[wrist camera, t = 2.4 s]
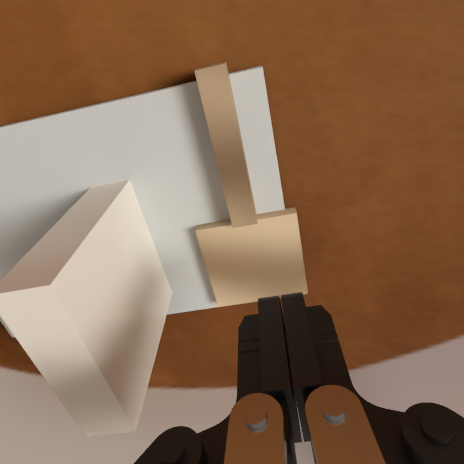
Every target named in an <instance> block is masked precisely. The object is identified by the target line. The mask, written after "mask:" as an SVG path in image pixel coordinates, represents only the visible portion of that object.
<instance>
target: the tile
mask: <svg viewBox="0 0 464 464" xmlns="http://www.w3.org/2000/svg"><path fill="white" fill-rule="evenodd" d="M171 296H172V291H171V288H170V286H169V283H168V280H167V278H166V275H165V272H164V270H163V267H162V264H161V262H160V259H159V257H158V254H157V251H156V249H155V246H154V243H153V241H152V238H151V235H150V233H149V230H148V227H147V225H146V222H145V220H144V217H143V214H142V212H141V209H140V206H139V204H138V201H137V198H136V196H135V193H134V190H133V188H132V185H131V183H130V180H126V181H121V182H116V183H111V184H106V185H101V186H96V187H91V188H90V189H89V190H88V191H87V192H86V193H85V194H84V195H83V196H82V197H81V198H80V199H79V200H78V201H77V202H76V203H75V204H74V205H73V206H72V207H71V208H70V209H69V210H68V211H67V212H66V213H65V215H64V216H63V217H62V218H61V219H60V220H59V221H58V222H57V223H56V224H55V225H54V226H53V227H52V228H51V229H50V230H49V231H48V232H47V233H46V234H45V235H44V236H43V237H42V238H41V239H40V240H39V241H38V242H37V243H36V245H35V246H34V247H33V248H32V249H31V250H30V251H29V252H28V253H27V254H26V255H25V256H24V257H23V258H22V259H21V260H20V261H19V262H18V263H17V264H16V265H15V266H14V267H13V268H12V269H11V270H10V271H9V272H8V273H7V274H6V276H5V277H4V278H3V279H2V280H1V281H0V316H1V318H2V319H3V320H4V322H5V323H6V325H7V326H8V328H9V329H10V330H11V332H12V333H13V335H14V336H15V337H16V339H17V340H18V342H19V343H20V344H21V346H22V347H23V349H24V350H25V351H26V353H27V354H28V356H29V357H30V358H31V360H32V361H33V363H34V364H35V365H36V367H37V368H38V370H39V371H40V373H41V374H42V375H43V377H44V378H45V379H46V381H47V382H48V384H49V385H50V386H51V388H52V389H53V391H54V392H55V394H56V395H57V396H58V398H59V399H60V401H61V402H62V403H63V405H64V406H65V408H66V409H67V410H68V412H69V413H70V415H71V416H72V417H73V419H74V420H75V422H76V423H77V424H78V426H79V427H80V429H81V430H82V432H83V433H84V434H85V436H96V435H105V434H115V433H125V432H134V431H136V428H137V424H138V421H139V417H140V413H141V409H142V406H143V402H144V398H145V394H146V391H147V387H148V383H149V379H150V375H151V372H152V368H153V364H154V360H155V357H156V353H157V349H158V345H159V342H160V338H161V334H162V330H163V326H164V323H165V319H166V315H167V311H168V308H169V304H170V300H171Z"/></svg>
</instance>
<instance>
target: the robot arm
mask: <svg viewBox="0 0 464 464" xmlns="http://www.w3.org/2000/svg"><path fill="white" fill-rule="evenodd" d="M281 300H282V307H283V312H282V307H281V302H280V297H279V295H278V296H271V297H264V298H258V313H259V314H255V315H248V316H245V317H244V319H243V320H242V322H241V324H240V326H239V331H238V342H239V344H238V379H237V400H236V404H235V405H234V407H233V408H232V410H231V413H230V414H229V415H228V417H227V418H226V419H224V420H223V421H222V422H221V423H219V424H217V425H216V426H213V427H211V428H209V429H207V430H204V431H202V432H200V433H198V434H197V433H196V432H195V431H193V430H192V429H191V428H188V427H184V426H177V427H173V428H170V429H168V430H166V431H165V432H163V433H162V434H160V435H159V436H158V437H157V438H156V439H155V440H154V442H153V443H152V444H151V445H150V446H149V447H148V448H147V449H146V451H145V452H144V453H143V454H142V455H141V456H140V457H139V458H138V459H137V461H136V462H135V463H134V464H297V461H296V453H295V445H294V443H297V442H302V439H301V432H300V425H299V418H298V412H299V417H300V422H301V427H302V432H303V437H304V442H305V441H311V446H312V451H313V456H314V462H315V464H464V418H463V417H462V416H460V415H458V414H457V413H455V412H454V411H452V410H450V409H448V408H447V407H444V406H442V405H439V404H435V403H419V404H415V405H413V406H411V407H409V408H408V409H407V410H406V412H400V411H394V410H389V409H385V408H381V407H378V406H375V405H373V404H371V403H369V402H367V401H366V400H364V399H363V398H362V397H361V396H360V395H359V394H358V393H357V392H356V390H355V389H354V387H353V385H352V382H351V379H350V376H349V373H348V369H347V366H346V363H345V360H344V356H343V353H342V350H341V346H340V343H339V341H338V337H337V333H336V331H335V327H334V324H333V320H332V317H331V315H330V314H329V313H328V312H327V311H326V310H325V309H324V308H323V307H322V306H321V305H318V306H311V307H306V306H305V302H304V298H303V293H302V292H297V293H291V294H284V295H281ZM283 314H284V318H283ZM284 322H285V323H284ZM296 402H297V403H296ZM297 407H298V411H297Z"/></svg>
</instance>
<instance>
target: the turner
mask: <svg viewBox="0 0 464 464" xmlns="http://www.w3.org/2000/svg"><path fill="white" fill-rule="evenodd" d="M194 72H195V76H196V80H197V84H198V88H199V92H200V96H201V100H202V104H203V108H204V113H205V117H206V121H207V125H208V129H209V133H210V137H211V141H212V145H213V149H214V154H215V158H216V162H217V166H218V170H219V174H220V178H221V182H222V186H223V190H224V195H225V199H226V203H227V207H228V211H229V215H230V219H228V220H222V221H217V222H211V223H205V224H200V225H196V229H195V232H196V235H197V239H198V242H199V245H200V248H201V252H202V255H203V258H204V262H205V265H206V268H207V271H208V275H209V278H210V281H211V285H212V288H213V291H214V294H215V298H216V301H217V304H218V307H222V306H229V305H236V304H242V303H249V302H256V301H258V298H264V297H271V296H278V295H279V297H280V298H281V295H284V294H291V293H297V292H302V293H303V294H308V291H307V283H306V276H305V269H304V262H303V255H302V247H301V240H300V233H299V226H298V219H297V212H296V209H295V207H294V208H289V209H283V210H278V211H272V212H267V213H261V214H257V213H256V208H255V203H254V198H253V193H252V188H251V183H250V178H249V173H248V168H247V163H246V158H245V153H244V148H243V143H242V138H241V133H240V128H239V123H238V118H237V113H236V108H235V104H234V99H233V94H232V89H231V84H230V79H229V74H228V69H227V64H226V62H221V63H217V64H213V65H209V66H204V67H200V68H197V69H196V70H194Z"/></svg>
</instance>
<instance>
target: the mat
mask: <svg viewBox="0 0 464 464" xmlns="http://www.w3.org/2000/svg"><path fill="white" fill-rule="evenodd" d="M228 74H229V79H230V84H231V89H232V94H233V99H234V104H235V108H236V113H237V118H238V123H239V128H240V133H241V138H242V143H243V148H244V153H245V158H246V163H247V168H248V173H249V178H250V183H251V188H252V193H253V198H254V203H255V208H256V213H257V214H261V213H267V212H272V211H278V210H283V209H285V207H284V200H283V194H282V188H281V181H280V175H279V168H278V162H277V156H276V149H275V143H274V136H273V130H272V124H271V117H270V111H269V104H268V98H267V92H266V85H265V79H264V73H263V67H262V66H258V67H253V68H249V69H245V70H241V71H236V72H232V73H228ZM126 180H130V183H131V185H132V188H133V190H134V193H135V196H136V198H137V201H138V204H139V206H140V209H141V212H142V214H143V217H144V220H145V222H146V225H147V227H148V230H149V233H150V235H151V238H152V241H153V243H154V246H155V249H156V251H157V254H158V257H159V259H160V262H161V264H162V267H163V270H164V272H165V275H166V278H167V280H168V283H169V286H170V288H171V291H172V296H171V300H170V304H169V308H168V311H167V314H174V313H181V312H187V311H194V310H201V309H207V308H214V307H218V304H217V301H216V298H215V294H214V291H213V288H212V285H211V281H210V278H209V275H208V271H207V268H206V265H205V262H204V258H203V255H202V252H201V248H200V245H199V242H198V239H197V235H196V232H195V229H196V225H200V224H205V223H211V222H217V221H222V220H228V219H230V215H229V211H228V207H227V203H226V199H225V195H224V190H223V186H222V182H221V178H220V174H219V170H218V166H217V162H216V158H215V154H214V149H213V145H212V141H211V137H210V133H209V129H208V125H207V121H206V117H205V113H204V108H203V104H202V100H201V96H200V92H199V88H198V84H197V81H193V82H189V83H185V84H180V85H176V86H172V87H167V88H163V89H159V90H154V91H150V92H146V93H142V94H137V95H133V96H129V97H124V98H120V99H116V100H111V101H107V102H103V103H99V104H94V105H90V106H86V107H81V108H77V109H73V110H68V111H64V112H60V113H56V114H51V115H47V116H43V117H38V118H34V119H30V120H25V121H21V122H17V123H12V124H8V125H4V126H0V281H1V280H2V279H3V278H4V277H5V276H6V274H7V273H8V272H9V271H10V270H11V269H12V268H13V267H14V266H15V265H16V264H17V263H18V262H19V261H20V260H21V259H22V258H23V257H24V256H25V255H26V254H27V253H28V252H29V251H30V250H31V249H32V248H33V247H34V246H35V245H36V243H37V242H38V241H39V240H40V239H41V238H42V237H43V236H44V235H45V234H46V233H47V232H48V231H49V230H50V229H51V228H52V227H53V226H54V225H55V224H56V223H57V222H58V221H59V220H60V219H61V218H62V217H63V216H64V215H65V213H66V212H67V211H68V210H69V209H70V208H71V207H72V206H73V205H74V204H75V203H76V202H77V201H78V200H79V199H80V198H81V197H82V196H83V195H84V194H85V193H86V192H87V191H88V190H89V189H90V188H91V187H96V186H101V185H106V184H111V183H116V182H121V181H126ZM0 321H1V323H2V324H3V325H4V327H5V328H6V330H7V331H8V332H9V334H10V335H11V337H15V336H14V335H13V333H12V332H11V330H10V329H9V328H8V326H7V325H6V323H5V322H4V320H3V319H2V318H1V316H0Z"/></svg>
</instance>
